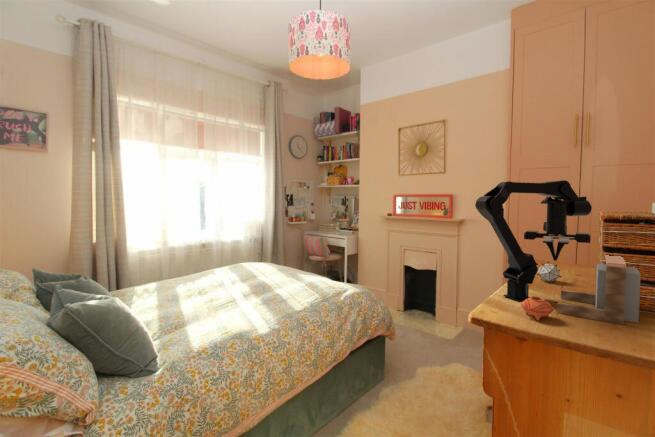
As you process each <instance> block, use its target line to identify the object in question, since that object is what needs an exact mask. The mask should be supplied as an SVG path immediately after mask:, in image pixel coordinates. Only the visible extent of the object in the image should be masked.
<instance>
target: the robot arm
mask: <svg viewBox="0 0 655 437" xmlns="http://www.w3.org/2000/svg"><path fill="white" fill-rule="evenodd" d="M511 194H536V195H539V196H544V197H545V198H544V199H543V200H542V201H540V204H543V205H544V204H545V205H546V221H543V225H542V229H543V232H539V230H529V229H528V230H526V231H525V232H524V233H523V240H531V241H533V240H536V239H543V240H542V243H543V244H546V246H547V248H548V249H549V251H550V254H551V256H552V259H553V261H554V262H557V261H558V259H559V256H560V253H561V251H562V249H563V248H564V246H565V245H569V244H570V240H571V241H576V242H577V243H582V244H591V240H592V239H591V236H592V235H591V234H590V233H589V232H575V234H568V225H567V218H568V217H586V216H588V215H590V214H591V212H592V209H593V207H592V205H591V203H590V201H588V199H587V196H578V195H577V193H576V191H575V190H574V189H573V187H572V186H571V183H570V182H569V181H568V180H565V179H564V180H563V179H562V180H551V181H544V182H543V181H542V182H520V181H517V182H516V181H510V180H509V181H502V182H499V183H498V184H497V185H496V186H495V187H493V188H492V189H490V190H489V191H487V192H486V193H485V194H484V195H483V196H480V197H478V198H477V199H476V201H475V203H474V205H475V206H474V207H475V209H476V210H477V211H478V213H479V214H480V215H481V216H482V217H483V218H484V219H485V220H486V221H487V222H489V224H490V225H491V228H492V229H493V231H494V233H495V235H496V237H497V238H498V240H499V242H500V244H501V245H502V247H503V248H504V251H505V252H506V254H507V263H508V267H507V268H506V269H505V270H504V271H502V274H503V277H504V279H507V281H506V284H507V287H506V288H507V289H506V290H507V291H506V294H503V295H502V296H503V297H504V296H505V298H508V299H511V300H512V301H513V300H514V301H515V302H516V301H517V302H523V301H524V300H525V299H528V298H530V297H531V296H529V290H530V289H529V288H530V287H529V286H530V285H532V284H533V283H534V280H535V278H536V276H537V274H538V268H539V267H538V266H539V264H538V263H537V261H536V259H535V256H533V254H530V253H527V252H524V251H523V249H522V247H521V246H520V244H519V242H518V240H517V238H516V237H515V234H513V232H512V229H511V228H510V225H509V223H508V222H507V220H506V218H505V216H504V215H505V209H504V204H505V203H506V202H507V201H508V200H509V197H510V196H511ZM555 240H558V241H557V244H556V248H555Z"/></svg>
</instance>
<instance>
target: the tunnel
mask: <svg viewBox="0 0 655 437" xmlns="http://www.w3.org/2000/svg"><path fill="white" fill-rule="evenodd" d="M604 260H606V289H605V309H598V308H596V307H591V306H584V305H578V304H572V303H567V302H566V303H565V302H560V301H557V303H556V304H557V305H556V313H557V314H561V315H566V316H567V315H568V316H573V317H578V318H585V319H591V320H595V321H596V320H597V321H600V322H601V321H602V322H607V323H613V324H619V325H625V321H624V304H625V280H626V266H627V263H626V261H625V258H624V257H621V256H609V255H605V254H604ZM560 292H561V293H560V299H561V300H565V301H573V302H579V303H583V304H584V303H586V304H592V305H595V303H596V293H589V292H583V291H582V292H581V291H577V290H567V289H561V291H560Z"/></svg>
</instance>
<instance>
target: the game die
mask: <svg viewBox="0 0 655 437" xmlns="http://www.w3.org/2000/svg"><path fill="white" fill-rule="evenodd" d="M537 268H538V271H537V273H536V276H539V277H540V281H543V280H544V281H545V282H546V281H547V282H548V284H550V283H551V282H553V281H554V282H555V283H556V282H557V280H558V278H562V276H561V275H560V271H561V269H559V268H558V264H557V263H556V264H555V265H554V264H552V263H550V262H549V261H547V263H545V264H544V263H541V266H539V267H537Z"/></svg>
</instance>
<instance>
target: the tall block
mask: <svg viewBox="0 0 655 437" xmlns="http://www.w3.org/2000/svg"><path fill="white" fill-rule="evenodd" d="M635 267H636V266H632V267H626V280H625V304H624V322H628V321H631V322H630V323H634V322H637V323H636V324H639V319H640V318H639V317H640V316H639V315H640V296H641V276H642V274H641V273H640V271H639V270H638V267H636V268H635ZM595 277H596V279H595V283H596V284H595V294H596V303H595V304H594V305H595V307H594V308H598V309H605V289H606V264H604V263H596V276H595Z"/></svg>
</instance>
